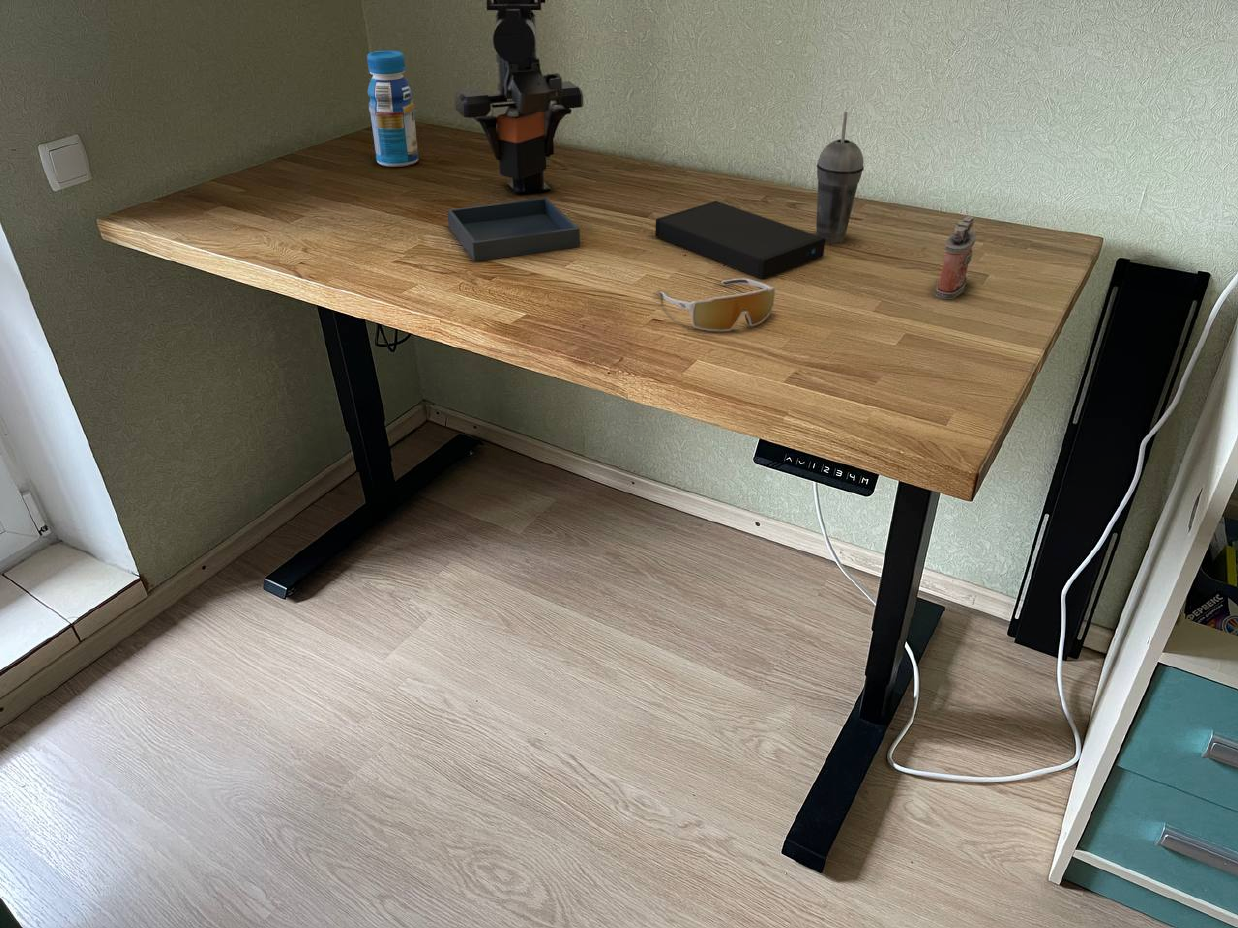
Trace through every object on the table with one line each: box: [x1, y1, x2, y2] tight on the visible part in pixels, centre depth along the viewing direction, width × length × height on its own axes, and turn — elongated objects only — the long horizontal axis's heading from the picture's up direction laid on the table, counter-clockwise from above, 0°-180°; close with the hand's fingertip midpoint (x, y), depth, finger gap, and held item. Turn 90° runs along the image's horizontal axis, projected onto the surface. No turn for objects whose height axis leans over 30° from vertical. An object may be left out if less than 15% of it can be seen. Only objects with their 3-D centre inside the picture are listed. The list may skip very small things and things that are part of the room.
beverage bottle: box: [366, 50, 419, 168], centre depth 183 cm, size 8×8×20 cm
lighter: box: [935, 215, 977, 300], centre depth 136 cm, size 8×3×10 cm, turn 148°
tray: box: [446, 197, 581, 262], centre depth 154 cm, size 16×17×3 cm
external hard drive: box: [654, 200, 826, 280], centre depth 151 cm, size 14×23×3 cm, turn 41°
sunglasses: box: [659, 278, 776, 332], centre depth 131 cm, size 14×15×5 cm
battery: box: [496, 109, 547, 180], centre depth 147 cm, size 4×7×10 cm, turn 144°
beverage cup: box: [815, 111, 865, 244], centre depth 150 cm, size 7×7×20 cm
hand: (522, 156), depth 149 cm, fingers closed on battery, 7 cm apart
